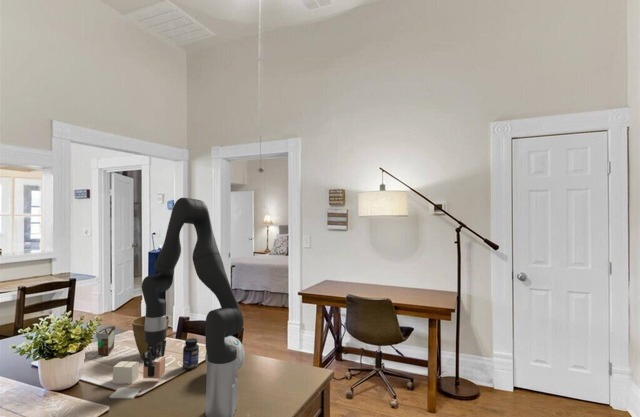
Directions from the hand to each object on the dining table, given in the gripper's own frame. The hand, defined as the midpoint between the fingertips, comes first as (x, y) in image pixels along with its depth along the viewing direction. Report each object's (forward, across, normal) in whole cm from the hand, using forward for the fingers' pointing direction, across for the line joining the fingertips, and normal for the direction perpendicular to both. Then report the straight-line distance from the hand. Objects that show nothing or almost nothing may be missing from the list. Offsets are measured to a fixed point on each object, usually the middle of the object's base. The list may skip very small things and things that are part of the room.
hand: (154, 373), depth 129 cm
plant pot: (+3, +23, +13) cm, 27 cm away
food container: (+3, +26, +35) cm, 44 cm away
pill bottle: (+3, +13, -9) cm, 16 cm away
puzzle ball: (+4, +7, -25) cm, 26 cm away
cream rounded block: (+3, 0, +11) cm, 11 cm away
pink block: (+1, 0, 0) cm, 1 cm away
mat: (+3, -9, +5) cm, 11 cm away
